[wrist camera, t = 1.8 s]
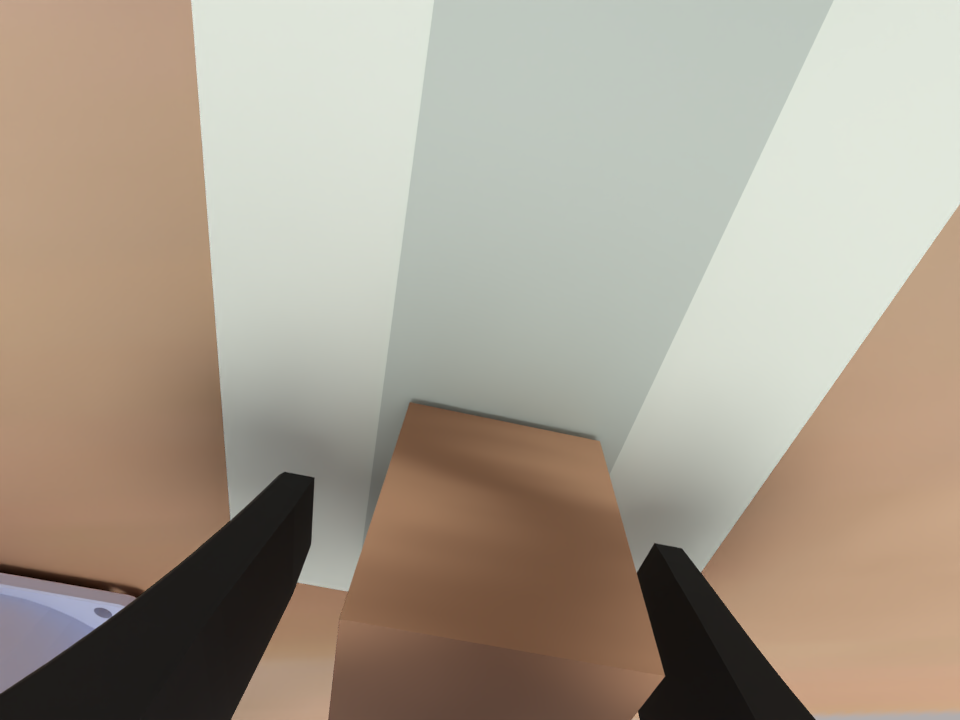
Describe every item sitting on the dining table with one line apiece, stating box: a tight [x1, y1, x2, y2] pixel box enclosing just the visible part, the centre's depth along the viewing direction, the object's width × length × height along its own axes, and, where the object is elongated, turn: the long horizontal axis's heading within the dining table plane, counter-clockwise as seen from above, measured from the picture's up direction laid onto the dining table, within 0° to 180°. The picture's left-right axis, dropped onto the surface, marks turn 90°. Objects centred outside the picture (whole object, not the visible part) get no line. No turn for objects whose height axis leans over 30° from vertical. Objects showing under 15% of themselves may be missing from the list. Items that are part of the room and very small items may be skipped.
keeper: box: [328, 402, 665, 720], centre depth 9 cm, size 4×5×4 cm
